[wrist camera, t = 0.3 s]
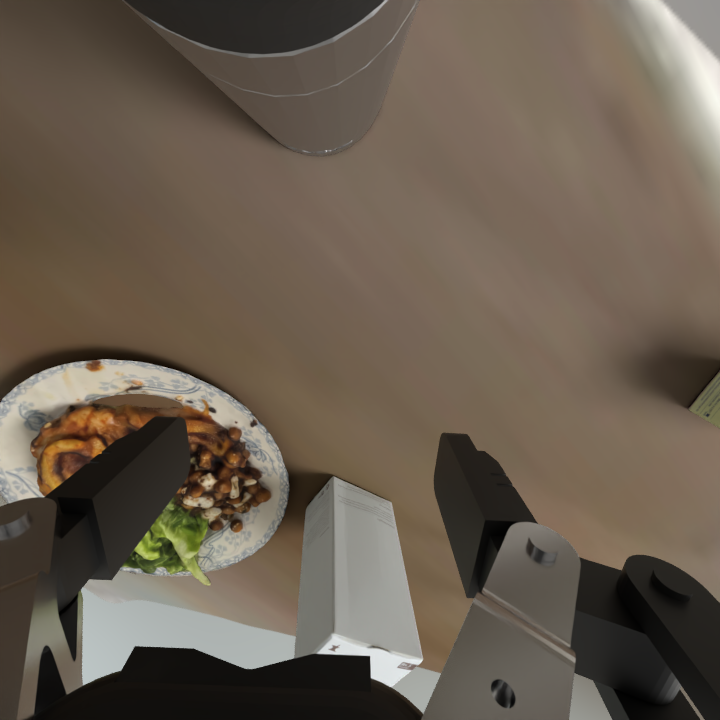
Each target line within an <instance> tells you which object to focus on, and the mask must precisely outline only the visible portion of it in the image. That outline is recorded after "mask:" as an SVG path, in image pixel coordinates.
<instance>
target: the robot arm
mask: <svg viewBox="0 0 720 720" xmlns="http://www.w3.org/2000/svg"><path fill="white" fill-rule="evenodd" d="M122 1H123V2H124V3H125V4H126V5H127V6H128V7H130V8H131V9H132V10H133V11H134V12H135V13H136V14H137V15H138V16H139V17H141V18H142V19H143V20H144V21H145V22H146V23H147V24H148V25H149V26H150V27H152V28H153V29H154V30H155V31H156V32H157V33H158V34H159V35H160V36H162V37H163V38H164V39H165V40H166V41H167V42H168V43H169V44H170V45H171V46H173V47H174V48H175V49H176V50H177V51H178V52H180V53H181V54H182V55H183V56H184V57H185V58H186V59H187V60H189V61H190V62H191V63H192V64H193V65H194V66H195V67H196V68H197V69H198V70H200V71H201V72H202V73H203V74H204V75H205V76H206V77H207V78H208V79H209V80H211V81H212V82H213V83H214V84H215V85H216V86H217V87H218V88H219V89H220V90H222V91H223V92H224V93H225V94H226V95H227V96H228V97H229V98H230V99H231V100H233V101H234V102H235V103H236V104H237V105H238V106H239V107H240V108H241V109H242V110H244V111H245V112H246V113H247V114H248V115H249V116H250V117H251V118H252V119H253V120H255V121H256V122H257V123H258V124H259V125H260V126H261V127H262V128H263V129H264V130H266V131H267V132H268V133H269V134H270V135H271V136H273V137H274V138H275V139H276V140H277V141H278V142H279V143H281V144H282V145H284V146H286V147H287V148H289V149H291V150H293V151H295V152H298V153H301V154H305V155H308V156H327V155H332V154H337V153H339V152H341V151H343V150H345V149H348V148H349V147H351V146H352V145H353V144H355V143H356V142H357V141H359V140H360V139H361V138H362V137H363V135H364V134H365V133H366V132H367V131H368V130H369V128H370V127H371V126H372V124H373V122H374V120H375V118H376V116H377V115H378V113H379V110H380V108H381V105H382V102H383V99H384V97H385V94H386V92H387V89H388V87H389V84H390V81H391V79H392V76H393V73H394V70H395V67H396V65H397V62H398V59H399V56H400V54H401V51H402V48H403V45H404V43H405V40H406V37H407V34H408V32H409V29H410V26H411V23H412V21H413V18H414V15H415V12H416V9H417V7H418V4H419V1H420V0H122ZM190 464H191V460H190V451H189V442H188V433H187V425H186V421H185V419H184V418H182V417H167V416H155V417H153V418H152V419H151V420H150V421H148V422H147V423H146V424H145V425H144V426H142V427H141V428H140V429H139V430H138V431H134V432H132V433H130V434H128V435H126V436H124V437H121V438H119V439H117V440H115V441H114V442H113V443H112V444H110V445H109V446H108V447H107V448H105V449H104V450H103V451H102V453H101V454H98V455H97V456H95V457H94V458H93V459H92V460H90V463H89V464H88V463H86V464H85V465H84V466H83V467H81V468H80V469H79V470H78V471H76V472H75V473H74V474H73V475H71V476H70V477H69V478H68V479H66V480H65V481H64V482H63V483H61V484H60V485H59V486H57V487H56V488H55V489H54V490H52V491H51V492H50V493H49V494H47V495H46V496H45V497H35V498H27V499H22V500H18V501H15V502H12V503H9V504H6V505H3V506H1V507H0V720H569V715H570V706H571V698H572V689H573V680H574V673H576V674H578V675H581V676H584V677H586V678H589V679H591V680H593V681H594V683H595V685H596V687H597V689H598V691H599V693H600V695H601V697H602V699H603V701H604V703H605V705H606V707H607V710H608V712H609V714H610V716H611V718H612V720H700V718H699V717H698V716H697V714H696V713H695V711H694V710H693V708H692V707H691V705H690V704H689V702H688V701H687V699H686V698H685V696H684V695H683V693H682V692H681V690H680V688H681V686H682V687H683V688H684V690H685V692H686V693H687V694H688V696H689V697H690V699H691V700H692V701H693V703H694V705H695V706H696V707H697V709H698V710H699V712H700V713H701V715H702V716H703V718H704V719H705V720H720V603H719V602H718V601H717V600H716V599H715V598H714V597H713V596H712V595H711V593H710V592H709V591H708V590H707V589H706V588H705V587H703V586H702V585H701V584H700V583H699V582H698V581H697V580H695V579H694V578H693V577H691V576H690V575H689V574H687V573H686V572H684V571H682V570H681V569H679V568H678V567H676V566H674V565H672V564H670V563H668V562H665V561H663V560H661V559H658V558H655V557H651V556H646V555H633V556H631V557H629V558H628V559H627V560H626V562H625V564H624V567H623V569H622V571H621V570H618V569H615V568H612V567H608V566H605V565H602V564H599V563H595V562H592V561H589V560H586V559H583V558H580V557H579V556H578V554H577V552H576V550H575V549H574V548H573V546H572V545H571V544H570V543H569V542H568V541H567V540H566V539H565V538H563V537H562V536H561V535H560V534H558V533H556V532H555V531H553V530H551V529H549V528H548V527H545V526H543V525H540V524H538V523H537V522H536V520H535V519H534V517H533V515H532V514H531V512H530V511H529V509H528V508H527V506H526V505H525V503H524V501H523V500H522V498H521V497H520V495H519V494H518V492H517V491H516V489H515V488H514V487H513V486H512V483H511V481H510V480H509V478H508V477H507V476H506V474H505V472H504V471H503V469H502V467H501V466H500V464H499V463H498V462H497V461H496V460H495V459H494V458H492V457H491V456H490V455H489V454H487V453H486V452H485V451H477V450H476V448H475V446H474V444H473V443H472V441H471V439H470V437H469V436H468V435H467V434H457V433H442V435H441V437H440V442H439V448H438V454H437V460H436V466H435V473H434V491H435V496H436V499H437V502H438V505H439V509H440V512H441V515H442V518H443V522H444V525H445V528H446V532H447V535H448V538H449V541H450V545H451V548H452V551H453V554H454V558H455V561H456V564H457V567H458V571H459V574H460V577H461V580H462V584H463V587H464V590H465V593H466V597H467V598H474V600H473V603H472V605H471V607H470V609H469V612H468V614H467V616H466V618H465V621H464V623H463V625H462V628H461V630H460V632H459V634H458V637H457V639H456V641H455V643H454V646H453V648H452V650H451V653H450V655H449V657H448V659H447V662H446V664H445V666H444V668H443V671H442V673H441V675H440V678H439V680H438V682H437V684H436V687H435V689H434V691H433V694H432V696H431V698H430V700H429V703H428V705H427V707H426V710H425V712H424V714H423V713H422V712H421V711H420V710H419V709H418V708H417V707H416V706H414V705H413V704H412V703H411V702H410V701H409V700H408V699H407V698H405V697H404V696H403V695H401V694H400V693H399V692H397V691H396V690H394V689H393V688H391V687H389V686H387V685H386V684H384V683H382V682H380V681H377V680H375V679H372V678H371V666H370V656H360V655H335V654H310V655H306V656H302V657H298V658H294V659H291V660H287V661H283V662H279V663H275V664H272V665H268V666H264V667H260V668H256V669H244V668H241V667H239V666H236V665H234V664H231V663H229V662H226V661H223V660H221V659H218V658H216V657H213V656H211V655H208V654H205V653H203V652H200V651H198V650H196V649H187V648H164V647H139V646H135V647H134V649H133V651H132V653H131V655H130V656H129V658H128V660H127V662H126V663H125V665H124V667H123V669H122V670H121V671H119V672H115V673H112V674H109V675H106V676H104V677H101V678H98V679H96V680H94V681H92V682H90V683H88V684H86V685H83V683H82V623H83V622H82V620H83V597H82V593H81V589H82V587H83V586H84V585H85V584H86V583H87V581H88V580H89V579H97V580H112V579H113V578H114V576H115V575H116V574H117V572H118V571H119V569H120V568H121V567H122V565H123V564H124V563H125V561H126V560H127V559H128V557H129V556H130V555H131V553H132V552H133V551H134V549H135V548H136V547H137V545H138V544H139V543H140V541H141V540H142V539H143V537H144V536H145V535H146V533H147V532H148V530H149V529H150V528H151V526H152V525H153V524H154V522H155V521H156V520H157V518H158V517H159V516H160V514H161V513H162V512H163V510H164V509H165V508H166V506H167V505H168V504H169V502H170V501H171V500H172V498H173V497H174V496H175V494H176V493H177V492H178V490H179V489H180V487H181V486H182V485H183V483H184V482H185V481H186V479H187V477H188V474H189V470H190Z"/></svg>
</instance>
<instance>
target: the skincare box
mask: <svg viewBox="0 0 720 720" xmlns="http://www.w3.org/2000/svg"><path fill="white" fill-rule="evenodd" d="M310 654H335V655H360V656H370V666H371V678H372V679H375V680H377V681H380V682H382V683H384V684H386V685H387V686H389V687H392V686H393V685H394V684H396V683H397V682H398V681H399V680H400V679H402V678H403V677H404V676H405V675H407V674H408V673H409V672H410V671H411V670H413V669H414V668H415V667H416V666H418V665H419V664H420V663H421V662H422V661H423V656H422V651H421V646H420V641H419V636H418V631H417V626H416V622H415V617H414V612H413V607H412V602H411V597H410V592H409V587H408V582H407V577H406V572H405V567H404V562H403V557H402V552H401V547H400V542H399V538H398V532H397V528H396V523H395V518H394V513H393V508H392V503H391V502H390V501H388V500H385V499H383V498H381V497H378V496H376V495H374V494H372V493H370V492H367V491H365V490H363V489H361V488H359V487H356V486H354V485H352V484H350V483H347V482H345V481H343V480H341V479H339V478H336V477H334V476H333V477H332V478H331V479H330V480H329V481H328V482H327V484H326V485H325V486H324V487H323V488H322V490H321V491H320V492H319V493H318V494H317V495H316V496H315V498H314V499H313V500H312V501H311V502H310V504H309V505H308V506H307V508H306V513H305V525H304V537H303V551H302V564H301V577H300V590H299V602H298V615H297V630H296V642H295V657H294V658H298V657H302V656H306V655H310Z"/></svg>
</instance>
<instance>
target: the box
mask: <svg viewBox="0 0 720 720" xmlns="http://www.w3.org/2000/svg"><path fill="white" fill-rule="evenodd" d="M688 410H689V411H691V412H693V413H695V414H696V415H698V416H700V417H701V418H703V419H705V420H707V421H708V422H710V423H712V424H713V425H715V426H717V427H718V428H720V371H719V372H718V373H717V375H716V376H715V377H714V378H713V379H712V381H711V382H710V383H709V384H708V385H707V387H706V388H705V389H704V390H703V391H702V393H701V394H700V395H699V396H698V398H697V399H696V400H695V401H694V403H693V404H692V405H691V406H690V407H689V409H688Z"/></svg>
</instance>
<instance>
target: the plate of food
mask: <svg viewBox="0 0 720 720" xmlns="http://www.w3.org/2000/svg"><path fill="white" fill-rule="evenodd" d="M118 394H148V395H157V396H161V397H165V398H169V399H172V400H175V401H178V402H180V403H182V406H183V408H182V409H180V408H177V407H173V408H169V409H162V408H146V407H137V406H131V405H122V406H118V407H112V406H107V405H95V404H94V403H93V402H94V401H95V400H97V399H100V398H103V397H109V396H113V395H118ZM155 416H167V417H182V418H184V419H185V421H186V425H187V433H188V442H189V451H190V460H191V464H190V470H189V474H188V477H187V479H186V481H185V482H184V483H183V485H182V486H181V487H180V489H179V490H178V492H177V493H176V494H175V496H174V497H173V498H172V500H171V501H170V502H169V504H168V505H167V506H166V508H165V509H164V510H163V512H162V513H161V514H160V516H159V517H158V518H157V520H156V521H155V522H154V524H153V525H152V526H151V528H150V529H149V530H148V532H147V533H146V535H145V536H144V537H143V539H142V540H141V541H140V543H139V544H138V545H137V547H136V548H135V549H134V551H133V552H132V553H131V555H130V556H129V557H128V559H127V560H126V561H125V563H124V564H123V565H122V567H121V568H120V569H119V570H120V571H126V572H130V573H135V574H141V575H148V576H165V577H176V576H190V575H193V576H194V577H195V578H197V579H198V580H199V581H200V582H201V583H203V584H204V585H210V584H211V582H210V580H209V579H208V577H207V576H206V575H205V574H204V573H205V572H208V571H215V570H221V569H224V568H226V567H228V566H231V565H233V564H235V563H237V562H239V561H242V560H244V559H245V558H247V557H249V556H251V555H252V554H254V553H255V552H256V551H258V550H259V549H260V548H261V547H262V546H263V545H264V544H265V543H266V542H267V541H268V540H269V539H270V538H271V537H272V536H273V534H274V533H275V531H276V530H277V529H278V527H279V525H280V523H281V521H282V519H283V516H284V514H285V511H286V506H287V502H288V497H289V477H288V472H287V470H286V468H285V465H284V461H283V458H282V455H281V452H280V450H279V448H278V447H277V444H276V443H275V441H274V439H273V438H272V436H271V435H270V433H269V432H268V430H267V429H266V428H265V427H264V426H263V425H262V424H261V423H260V422H259V421H258V420H257V419H256V418H255V417H254V415H253V414H252V413H251V412H250V411H249V410H248V409H247V408H246V407H245V406H244V405H243V404H241V403H240V402H238V401H237V400H235V399H234V398H232V397H231V396H230V395H228V394H227V393H225V392H223V391H221V390H219V389H218V388H216V387H214V386H212V385H210V384H208V383H206V382H203V381H201V380H199V379H197V378H194V377H193V376H191V375H189V374H186V373H183V372H180V371H177V370H174V369H170V368H167V367H163V366H158V365H154V364H149V363H144V362H137V361H124V360H111V359H101V360H92V361H80V362H73V363H68V364H64V365H60V366H56V367H53V368H50V369H47V370H44V371H42V372H40V373H38V374H35V375H33V376H31V377H30V378H28V379H27V380H25V381H24V382H22V383H21V384H19V385H17V386H16V387H15V388H14V389H13V390H12V391H11V392H10V393H8V394H7V395H6V396H5V397H4V398H3V399H2V401H1V402H0V494H1V496H2V497H3V499H4V500H5V501H6V502H7V503H8V504H9V503H12V502H15V501H18V500H22V499H27V498H35V497H45V496H46V495H47V494H49V493H50V492H51V491H52V490H54V489H55V488H56V487H57V486H59V485H60V484H61V483H63V482H64V481H65V480H66V479H68V478H69V477H70V476H71V475H73V474H74V473H75V472H76V471H78V470H79V469H80V468H81V467H83V466H84V465H85V464H86V463H88V464H89V463H90V460H92V459H93V458H94V457H95V456H97V455H98V454H101V453H102V451H103V450H104V449H105V448H107V447H108V446H109V445H110V444H112V443H113V442H114V441H115V440H117V439H119V438H121V437H124V436H126V435H128V434H130V433H132V432H134V431H138V430H139V429H140V428H141V427H142V426H144V425H145V424H146V423H147V422H148V421H150V420H151V419H152V418H153V417H155ZM222 514H227V515H228V520H226V521H225V520H223V519H222V518H221V517H220V516H221V515H222ZM208 524H209V527H210V530H208Z"/></svg>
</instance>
